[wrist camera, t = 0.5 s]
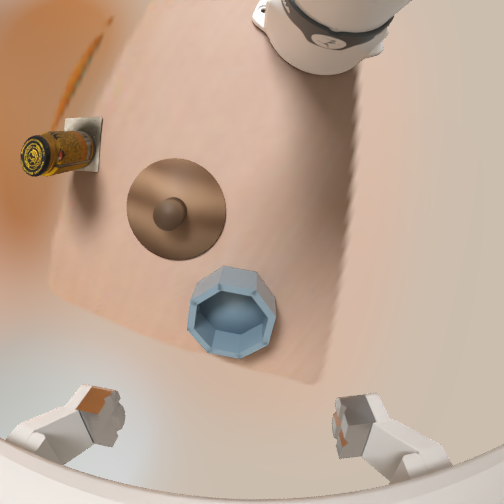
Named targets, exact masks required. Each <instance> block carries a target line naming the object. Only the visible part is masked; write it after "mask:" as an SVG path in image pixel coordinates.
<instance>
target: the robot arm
mask: <svg viewBox="0 0 504 504" xmlns="http://www.w3.org/2000/svg"><path fill="white" fill-rule="evenodd" d="M410 1H412V0H260V1H259V3H258V5H257V7H256V9H255V11H254V13H253V15H252V21H253V23H254V24H255V25H256V26H257V27H259V28H260V29H261V30H262V31H264V32H265V33H266V34H267V36H268V38H269V40H270V42H271V44H272V46H273V47H274V49H275V50H276V52H277V53H278V54H279V55H280V56H281V57H282V58H283V59H284V60H285V61H286V62H288V63H289V64H291V65H292V66H294V67H296V68H298V69H300V70H302V71H305V72H308V73H312V74H317V75H334V74H339V73H343V72H345V71H348V70H350V69H351V68H353V67H354V66H356V65H357V64H358V63H359V62H360V61H362V60H363V59H365V58H369V57H373V56H376V55H379V54H380V53H381V52H382V51H383V40H384V39H385V38H386V36H387V35H388V33H389V31H388V30H387V26H389V24H390V22H391V21H392V19H393V17H394V15H395V14H396V13H397V12H398V11H400V10H401V9H402V8H403V7H404V6H406V5H407V4H408V3H409V2H410ZM262 10H265V13H262V12H261V11H262ZM119 400H120V396H119V393H118V392H117V391H116V390H112V389H107V388H102V387H97V386H91V385H87V384H83V385H81V386H80V388H79V389H78V390H77V391H76V393H75V394H74V395H73V396H72V398H71V399H70V400H69V402H68V403H67V404H66V406H65V407H64V406H61V407H58V408H56V409H54V410H51V411H49V412H46V413H44V414H42V415H40V416H37V417H35V418H32V419H30V420H27V421H25V422H22V423H20V424H18V426H16V428H15V429H14V430H13V431H12V433H11V434H10V435H9V436H8V437H7V439H6V440H4V439H2V438H0V504H504V444H503V445H501V446H499V447H497V448H494V449H492V450H490V451H488V452H486V453H483V454H481V455H479V456H476V457H474V458H472V459H469V460H467V461H464V462H462V463H459V464H456V465H454V466H453V465H452V463H451V462H450V460H449V458H448V456H447V454H446V453H445V451H444V449H443V448H442V446H441V444H439V443H437V442H435V441H433V440H431V439H429V438H427V437H425V436H424V435H422V434H420V433H418V432H416V431H414V430H412V429H411V428H409V427H407V426H405V425H403V424H402V423H400V422H398V421H396V420H391V419H390V417H389V415H388V413H387V411H386V409H385V407H384V405H383V403H382V401H381V399H380V397H379V395H378V394H377V393H370V394H364V395H357V396H348V397H338V398H337V400H336V403H335V407H336V412H335V413H334V414H333V419H332V429H333V435H334V438H336V439H337V444H336V447H337V451H338V455H339V459H341V458H350V457H358V456H362V458H363V459H365V460H366V461H367V462H368V463H369V464H370V465H371V466H373V467H374V468H375V469H376V470H377V471H378V472H380V473H381V474H382V475H383V476H385V477H386V478H387V479H388V480H389V481H390V483H389V485H385V486H381V487H376V488H372V489H366V490H360V491H355V492H349V493H342V494H334V495H326V496H318V497H306V498H293V499H226V498H212V497H200V496H191V495H183V494H176V493H169V492H163V491H157V490H152V489H146V488H141V487H137V486H132V485H128V484H123V483H119V482H115V481H111V480H108V479H104V478H100V477H97V476H94V475H90V474H87V473H84V472H80V471H78V470H75V469H72V468H69V467H66V466H63V465H64V464H66V463H67V462H68V461H70V460H72V459H73V458H74V457H76V456H77V455H79V454H80V453H82V452H83V451H85V450H86V449H88V448H89V447H91V446H92V445H93V443H95V444H99V445H103V446H108V447H113V445H114V443H115V441H116V439H117V437H118V435H117V431H118V430H120V429H122V427H123V425H124V421H125V411H124V408H123V406H122V405H121V404H120V403H119Z"/></svg>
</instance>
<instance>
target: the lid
mask: <svg viewBox="0 0 504 504" xmlns="http://www.w3.org/2000/svg"><path fill="white" fill-rule="evenodd" d="M127 216H128V221H129V224H130V227H131V229H132V231H133V233H134V235H135V236H136V238H137V239H138V240H139V241H140V243H141V244H142V245H143V246H144V247H145V248H147V249H148V250H149V251H151V252H153V253H154V254H156V255H158V256H161V257H164V258H167V259H174V260H182V259H189V258H193V257H195V256H198V255H200V254H202V253H203V252H205V251H206V250H207V249H209V248H210V247H211V246H212V245H213V244H214V243H215V241H216V240H217V239H218V237H219V235H220V233H221V231H222V229H223V226H224V222H225V216H226V205H225V199H224V196H223V192H222V190H221V188H220V186H219V184H218V183H217V181H216V180H215V178H214V177H213V176H212V175H211V174H210V173H209V172H208V171H207V170H206V169H204V168H203V167H202V166H200V165H198V164H196V163H194V162H191V161H189V160H184V159H176V158H175V159H165V160H161V161H158V162H155V163H153V164H151V165H150V166H148V167H147V168H145V169H144V170H143V171H142V172H141V173H140V174H139V175H138V176H137V177H136V179H135V180H134V182H133V184H132V186H131V188H130V191H129V194H128V199H127Z"/></svg>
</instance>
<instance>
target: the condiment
mask: <svg viewBox="0 0 504 504" xmlns="http://www.w3.org/2000/svg"><path fill="white" fill-rule="evenodd" d="M101 122H102V117H87V118H66V119H65V129H64V131H56V132H55V131H54V132H51V131H50V132H45V133H43V134H41V135H36V136H32V137H30V138H28V140H27V141H26V142H25V143H24V146H23V148H22V150H21V164H22V167H23V170H24V171H25V172H26V173H27V174H28V175H31V176H39V175H42V176H51V175H55V174H60V173H63V172H68V171H90V172H98V164H99V149H100V135H101Z"/></svg>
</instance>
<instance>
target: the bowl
mask: <svg viewBox="0 0 504 504" xmlns="http://www.w3.org/2000/svg"><path fill="white" fill-rule="evenodd" d="M275 319H276V306H275V296H274V295H273V294H272V292H271V291H270V290H269V288H268V287H267V286H266V284H265V283H264V281H263V280H262V279H261V277H260V276H259V275H258V273H257V272H253V271H248V270H243V269H238V268H232V267H227V266H223V267H221V268H220V269H218V270H217V271H215V272H213V273H212V274H210V275H209V276H207V277H205V278H204V279H202V280H201V281H199V282H198V283H197V285H196V288H195V290H194V292H193V295H192V297H191V300H190V307H189V316H188V325H187V330H188V331H189V333H190V334H191V335H192V336H193V337H194V338H195V339H196V340H197V341H198V343H199V344H200V345H201V346H202V347H203V348H204V349H205V350H206V351H207V353H211V354H217V355H222V356H227V357H233V358H238V359H241V358H243V357H245V356H247V355H249V354H251V353H253V352H255V351H257V350H259V349H261V348H263V347H265V346H267V345H269V341H270V337H271V333H272V330H273V326H274V323H275Z"/></svg>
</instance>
